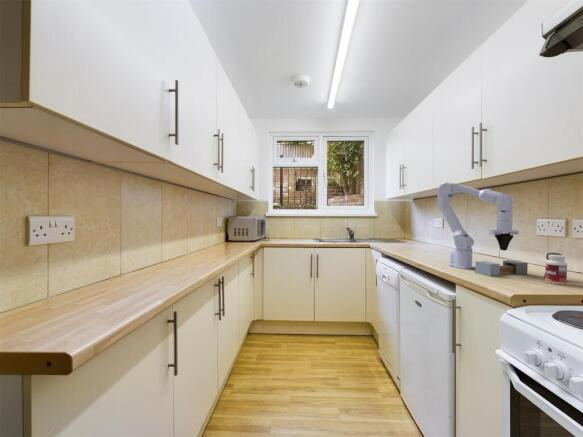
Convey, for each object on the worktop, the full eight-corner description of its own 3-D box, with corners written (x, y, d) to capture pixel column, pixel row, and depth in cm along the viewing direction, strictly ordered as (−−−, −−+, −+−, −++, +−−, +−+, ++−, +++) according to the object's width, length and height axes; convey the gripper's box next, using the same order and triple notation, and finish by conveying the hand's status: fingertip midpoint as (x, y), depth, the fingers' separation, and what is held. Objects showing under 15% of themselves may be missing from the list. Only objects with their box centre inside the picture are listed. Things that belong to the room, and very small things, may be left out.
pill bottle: (540, 281, 114) (541, 254, 114) (556, 281, 114) (557, 254, 114) (554, 285, 108) (555, 256, 108) (571, 285, 108) (572, 256, 108)
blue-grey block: (475, 272, 129) (475, 261, 129) (484, 272, 131) (484, 261, 130) (489, 276, 122) (490, 264, 122) (499, 275, 123) (499, 263, 123)
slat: (482, 274, 127) (482, 266, 127) (509, 272, 132) (509, 265, 132) (489, 275, 124) (489, 268, 124) (516, 274, 129) (516, 266, 129)
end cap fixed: (502, 271, 133) (502, 260, 133) (511, 271, 134) (511, 260, 134) (518, 274, 126) (518, 263, 126) (527, 274, 127) (527, 262, 127)
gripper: (500, 220, 124) (499, 251, 124) (525, 221, 128) (524, 251, 128) (485, 220, 131) (484, 249, 131) (510, 220, 134) (509, 248, 135)
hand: (503, 250), depth 130 cm, fingers closed
